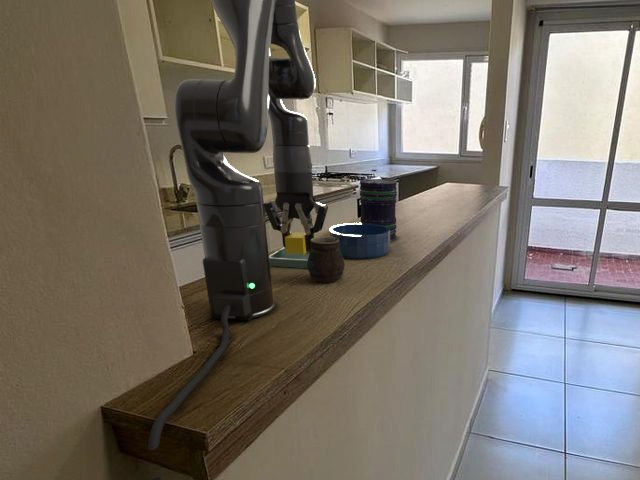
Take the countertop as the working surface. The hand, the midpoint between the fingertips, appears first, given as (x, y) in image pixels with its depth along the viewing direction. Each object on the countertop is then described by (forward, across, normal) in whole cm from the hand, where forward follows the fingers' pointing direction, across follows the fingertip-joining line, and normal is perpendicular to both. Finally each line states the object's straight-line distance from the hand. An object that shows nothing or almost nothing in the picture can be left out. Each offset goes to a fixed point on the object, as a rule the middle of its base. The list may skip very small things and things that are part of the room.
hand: (299, 249), depth 98 cm
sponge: (0, 0, 0) cm, 0 cm away
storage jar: (+3, +12, +27) cm, 30 cm away
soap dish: (+3, 0, 0) cm, 3 cm away
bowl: (+3, +11, +11) cm, 16 cm away
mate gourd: (+3, +10, -11) cm, 15 cm away
